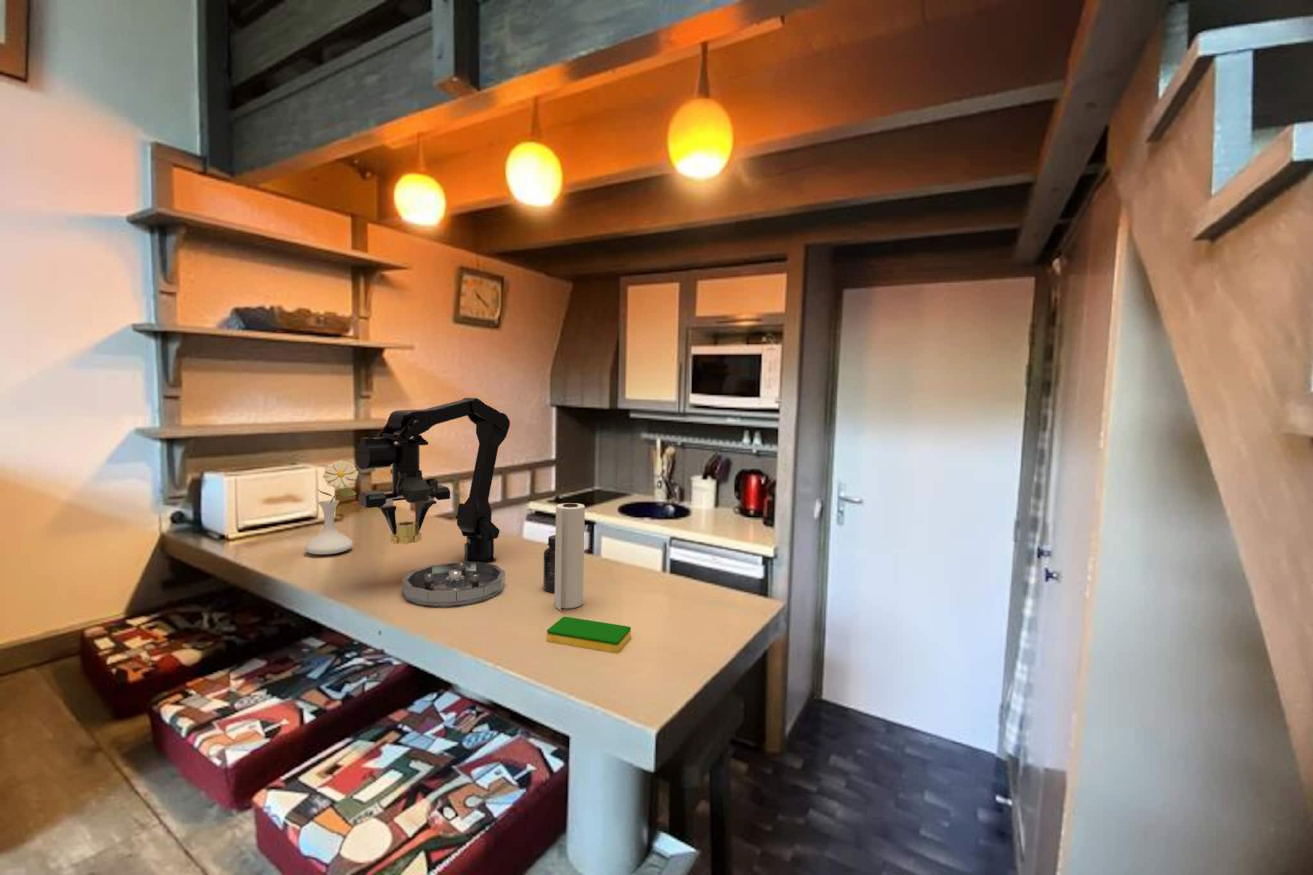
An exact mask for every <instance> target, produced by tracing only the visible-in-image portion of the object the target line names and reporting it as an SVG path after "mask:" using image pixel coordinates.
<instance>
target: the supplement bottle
mask: <svg viewBox="0 0 1313 875" xmlns="http://www.w3.org/2000/svg"><path fill="white" fill-rule="evenodd" d="M555 538H556V534H553V535H550V536H548V538H547V539H548V540H547V541H548V542H547V546H548V547H547V548H545V550H544V552H543V567H542V568H543V574H542V576H543V578H542V579H543V582H542V583H543V589H544V591H546V592H548V593H554V594H555Z"/></svg>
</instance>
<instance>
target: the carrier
mask: <svg viewBox="0 0 1313 875" xmlns="http://www.w3.org/2000/svg"><path fill="white" fill-rule="evenodd" d="M505 582H506V571H505V570H504V569H503V568H501V567H499V566H498V565H496V564H492V563H488V562H485V563H482V562H468V561H451V562H444V563H439V564H431V565H427V566H425V567H421V568H418V569H416V570H413V571H410V572H409V573H408V574H406V576H405V577H404V578H403V579H402V580H401V590H402V591H403V598H404V599H405V601H407V602H409V603H411V604H413V605H415V606H416V605H417V606H420V607H424V608H425V607H427V608H457V607H463V606H469V605H474V604H478V603H482V602H485V601H489V600H491V599H492V598H494V597H497V596H498V595H500V594H501V593H502V591H504V586H505V585H504V584H505Z"/></svg>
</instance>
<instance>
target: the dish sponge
mask: <svg viewBox="0 0 1313 875" xmlns="http://www.w3.org/2000/svg"><path fill="white" fill-rule="evenodd" d="M631 628H632V627H631V626H627V625H622V624H614V623H609V622H603V621H602V622H601V621H596V620H589V619H583V618H576V617H570V616H562V617H561V618H559V619H558V620H557V621H556V622H555V623H554V624H552V625H551V626H550V627H549V628H548V629H547V630H546V632H547V633H546V641H547V642H550V643H556V644H561V645H562V644H563V645H568V646H573V647H579V648H586V649H591V650H595V651H596V650H597V651H603V652H607V651H609V652H608V653H613V654H617V653H619V652H620V649H621V650H622V649H623V647H624V646H625V645H626V644H627V643H628V641H629V640H630V639H631V637H632V636H631V635H632V633H631V631H632V629H631Z"/></svg>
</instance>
